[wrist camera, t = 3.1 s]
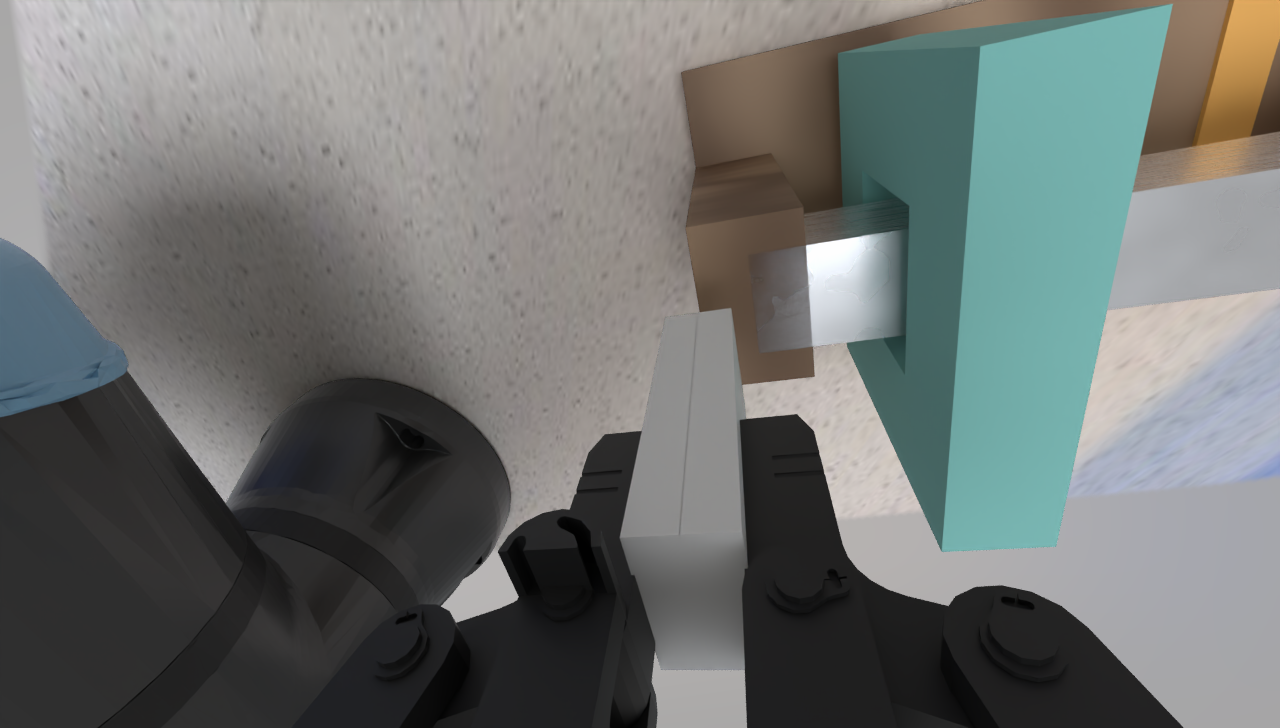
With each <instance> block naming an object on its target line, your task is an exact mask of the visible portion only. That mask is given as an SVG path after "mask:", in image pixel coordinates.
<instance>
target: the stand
mask: <svg viewBox="0 0 1280 728" xmlns="http://www.w3.org/2000/svg"><path fill="white" fill-rule="evenodd" d="M1228 3H1229V0H983V1H979V2H974V3H970V4H966V5H962V6H958V7H953V8H949V9H945V10H941V11H936V12H932V13H928V14H924V15H920V16H915V17H911V18H907V19H903V20H898V21H894V22H890V23H886V24H882V25H877V26H873V27H869V28H865V29H860V30H856V31H852V32H848V33H844V34H839V35H835V36H831V37H827V38H822V39H818V40H814V41H810V42H806V43H801V44H797V45H793V46H789V47H784V48H780V49H776V50H772V51H768V52H763V53H759V54H755V55H751V56H746V57H742V58H738V59H734V60H730V61H725V62H721V63H717V64H713V65H709V66H704V67H700V68H696V69H692V70H687V71H683V72H681V74H682V80H683V87H684V93H685V100H686V106H687V113H688V119H689V126H690V132H691V139H692V146H693V152H694V159H695V165H696V170H695V176H694V182H693V188H692V193H691V199H690V205H689V211H688V216H687V222H686V234H687V240H688V245H689V251H690V257H691V263H692V269H693V275H694V281H695V287H696V292H697V298H698V304H699V310H700V312H706V311H713V310H720V309H727V308H731V310H732V317H733V325H734V332H735V339H736V346H737V353H738V360H739V367H740V375H741V382H742V385H744V384H753V383H762V382H771V381H780V380H788V379H797V378H806V377H815V375H814V360H813V347H812V346H813V345H812V346H811V344H810V347H805V348H803V347H802V348H800V346H801V345H800V343H802V345H803V342H802V341H801V340H800V341H799V339H802V337H801V336H800V337H799V338H798V340H797V339H796V340H797V342H800V343H799V345H800V346H799V345H797V344H798V343H797V344H796V345H797V347H799V348H797V347H796V348H795V347H794V348H793V347H792V346H793V345H792V346H791V347H792V348H791V347H790V346H789V344H790V343H791V344H792V342H791V340H792V339H793V338H795V337H796V336H797V337H798V334H796V333H795V334H794V333H792V332H790V334H791V333H792V334H794V337H793V338H791V337H790V336H791V335H790V334H789V332H788V334H787V332H785V329H786V330H787V328H788V329H789V328H791V325H792V324H793V325H795V324H796V323H795V322H797V321H798V320H797V319H796V320H797V321H796V320H794V321H795V322H794V323H791V325H790V324H789V325H790V327H787V328H784V327H786V326H784V323H786V322H784V320H785V319H784V320H783V321H781V318H782V319H783V318H786V317H784V315H785V314H786V313H787V314H788V315H789V314H791V313H792V314H794V312H793V311H795V314H794V315H793V316H792V315H791V316H792V317H793V318H794V316H795V315H796V313H797V311H796V309H795V308H797V307H796V306H797V304H796V306H794V305H791V304H790V303H792V304H795V303H796V301H797V299H798V301H797V303H798V302H799V304H800V301H801V300H802V298H798V296H799V294H797V293H798V292H800V293H801V292H802V290H801V291H800V289H798V292H797V293H796V290H797V289H796V288H794V287H795V286H796V285H797V286H798V282H799V281H800V282H801V281H802V280H804V278H802V277H803V276H804V275H803V274H801V272H802V273H804V272H805V273H804V274H806V272H807V271H808V268H807V266H806V265H804V264H803V263H806V264H807V260H805V258H806V256H807V255H806V253H805V252H806V251H805V248H804V251H803V252H800V251H802V250H803V249H802V248H803V246H804V247H805V246H806V238H805V222H804V214H808V213H813V212H819V211H825V210H831V209H836V208H842V207H843V201H842V170H841V138H840V107H839V75H838V53H841V52H845V51H850V50H854V49H858V48H863V47H867V46H871V45H876V44H880V43H884V42H889V41H893V40H897V39H902V38H906V37H910V36H915V35H919V34H927V33H935V32H943V31H952V30H960V29H968V28H977V27H985V26H993V25H1001V24H1010V23H1018V22H1026V21H1034V20H1043V19H1051V18H1059V17H1068V16H1076V15H1084V14H1092V13H1101V12H1109V11H1117V10H1125V9H1134V8H1142V7H1150V6H1159V5H1167V4H1173V6H1172V10H1171V15H1170V20H1169V24H1168V29H1167V34H1166V38H1165V43H1164V48H1163V52H1162V57H1161V62H1160V66H1159V71H1158V75H1157V80H1156V85H1155V89H1154V94H1153V99H1152V103H1151V108H1150V113H1149V117H1148V122H1147V127H1146V131H1145V136H1144V140H1143V145H1142V150H1141V154H1140V156H1142V155H1147V154H1153V153H1159V152H1165V151H1170V150H1176V149H1182V148H1188V147H1192V144H1193V140H1194V136H1195V132H1196V128H1197V124H1198V120H1199V117H1200V113H1201V109H1202V105H1203V101H1204V97H1205V93H1206V89H1207V85H1208V81H1209V78H1210V74H1211V70H1212V66H1213V62H1214V58H1215V54H1216V50H1217V46H1218V42H1219V38H1220V35H1221V31H1222V27H1223V23H1224V19H1225V15H1226V11H1227V7H1228ZM1274 132H1280V39H1279V42H1278V46H1277V49H1276V52H1275V56H1274V59H1273V62H1272V66H1271V69H1270V72H1269V76H1268V79H1267V82H1266V86H1265V89H1264V92H1263V96H1262V99H1261V102H1260V106H1259V109H1258V112H1257V115H1256V119H1255V122H1254V125H1253V129H1252V132H1251V135H1250V137H1251V136H1257V135H1263V134H1268V133H1274ZM799 246H801V247H802V248H800V249H801V250H799V251H797V252H796V253H795V252H794V251H796V250H794V249H793V250H794V251H793V252H794V256H793V254H792V253H793V252H792V250H791V249H792V248H793V247H795V248H797V249H799ZM789 248H790V249H789ZM781 249H782V250H781ZM784 249H786V251H787V252H785V250H784ZM777 250H778V251H777ZM780 250H781V251H780ZM788 250H789V251H788ZM772 251H774V253H776V252H775V251H777V252H778V253H776V254H778V255H776V254H773V252H772ZM782 251H783V252H784V253H785V255H784V253H783V252H782ZM763 252H765V253H763ZM767 252H768V253H769V252H770V253H771V254H772V256H771V255H770V253H769V254H768V253H767ZM780 252H781V253H782V254H783V256H782V255H781V253H780ZM788 252H789V253H790V252H791V253H790V254H791V255H790V254H788ZM798 252H799V254H800V253H801V254H802V255H804V254H803V253H805V256H804V258H803V256H801V257H802V258H803V259H804V260H805V261H806V262H804V260H803V259H802V258H801V257H800V256H799V254H798ZM761 253H763V254H761ZM750 254H751V255H750ZM752 254H753V255H752ZM757 254H758V255H757ZM760 254H761V255H760ZM764 254H765V255H767V256H765V255H764ZM779 254H780V255H781V256H782V257H779ZM801 254H800V255H801ZM768 255H769V256H770V257H769V256H768ZM773 255H775V256H778V259H777V257H775V256H774V258H775V259H774V260H775V261H772V263H771V262H770V261H771V260H773ZM787 255H789V256H787ZM755 256H758V257H759V258H758V257H757V258H758V259H757V258H754V257H755ZM762 256H763V257H762ZM797 256H799V257H800V258H801V259H800V258H799V257H798V258H797V259H798V261H796V260H797V259H795V260H792V259H794V257H797ZM761 257H762V258H764V259H762V258H761ZM765 257H766V258H767V257H768V259H766V258H765ZM771 257H772V259H770V258H771ZM791 257H792V259H791ZM760 258H761V259H762V260H764V261H762V262H761V264H759V263H758V261H759V260H760V261H761V259H760ZM783 258H788V259H790V260H788V259H786V260H785V259H783ZM749 259H750V260H749ZM753 259H754V260H756V261H753ZM776 259H777V260H779V259H780V260H779V262H778V261H777V260H776ZM782 259H783V260H782ZM791 260H792V261H796V262H797V263H798V262H799V261H801V260H802V261H801V263H802V264H803V266H804V267H806V268H807V269H805V271H804V269H803V268H800V267H799V266H801V265H802V264H801V263H800V265H799V266H797V267H796V266H795V267H796V268H798V267H799V268H800V270H802V269H803V270H802V271H801V272H800V270H799V272H797V271H798V269H799V268H798V269H796V268H795V267H793V269H794V268H795V269H796V270H797V271H796V272H797V274H796V275H797V276H798V275H799V276H798V278H800V279H802V280H799V279H798V278H796V279H797V280H796V279H795V277H797V276H796V275H795V277H793V276H794V275H793V276H791V270H792V268H790V267H789V266H791V265H792V264H793V265H794V264H796V262H794V263H792V261H791ZM751 261H752V262H751ZM760 261H759V262H760ZM784 261H786V262H787V261H788V264H787V265H788V266H787V268H788V269H789V268H790V269H791V270H788V271H790V272H789V273H790V276H789V273H787V274H786V272H785V273H783V271H784V270H785V271H786V268H783V271H782V272H781V273H783V274H785V275H782V276H783V278H784V277H785V276H789V277H788V278H787V277H785V278H784V281H783V282H784V283H783V282H782V281H781V280H783V278H781V277H782V276H781V273H780V274H779V273H778V271H779V269H780V267H781V266H783V265H784V263H785V262H784ZM790 261H791V262H790ZM756 262H757V263H756ZM767 262H768V264H769V265H768V264H767ZM781 262H782V264H781ZM749 263H750V264H749ZM754 263H755V264H754ZM775 263H776V264H777V266H776V264H775ZM778 263H779V264H781V265H778ZM789 263H792V264H791V265H790V264H789ZM766 264H767V265H768V266H766ZM751 265H752V266H751ZM755 265H756V266H757V265H758V266H757V267H756V266H755ZM762 265H763V267H764V268H766V270H765V269H764V268H763V267H761V269H760V270H759V269H758V268H760V266H762ZM771 265H772V267H771ZM774 265H775V266H774ZM797 265H798V264H797ZM778 266H780V267H778ZM784 266H785V265H784ZM784 266H783V267H784ZM750 267H751V268H753V267H754V268H753V269H751V268H750ZM768 267H769V268H771V269H772V268H773V269H775V270H771V269H770V270H771V271H772V274H771V271H770V270H769V269H768ZM774 267H775V268H774ZM777 267H778V268H777ZM785 267H786V266H785ZM791 267H792V266H791ZM801 267H802V266H801ZM749 268H750V269H749ZM776 268H777V270H778V271H777V272H775V271H776ZM781 268H782V267H781ZM767 269H768V270H767ZM795 269H794V270H792V271H795ZM781 270H782V269H781ZM752 271H753V272H754V273H753V272H752ZM755 271H759V272H757V273H756V272H755ZM763 271H765V273H766V272H767V271H768V272H769V273H770V274H771V276H769V275H770V274H769V273H768V272H767V273H766V274H765V273H763ZM773 271H774V273H773ZM788 271H787V272H788ZM751 272H752V274H753V276H750V275H752V274H751ZM760 272H761V273H763V274H764V275H763V274H762V275H760V274H761V273H760ZM796 272H795V273H796ZM755 273H756V274H755ZM775 273H776V274H775ZM758 274H759V275H760V276H759V275H758ZM774 274H775V275H774ZM778 274H779V276H780V277H779V276H778V277H776V276H777V275H778ZM792 274H794V273H793V272H792ZM800 274H801V275H800ZM755 275H756V276H757V275H758V276H757V277H758V279H756V278H757V277H756V276H755ZM767 275H768V276H769V277H770V278H769V277H768V276H767ZM772 275H773V276H772ZM807 275H808V273H807ZM754 276H755V278H754V282H753V280H752V279H753V277H754ZM763 276H764V277H763ZM774 276H775V277H776V279H775V277H774ZM801 276H802V277H801ZM805 276H806V275H805ZM750 277H751V278H750ZM759 277H760V278H759ZM792 277H793V278H794V279H795V281H793V279H792ZM806 277H807V276H806ZM763 278H765V279H766V280H765V279H763ZM768 278H769V279H770V280H769V279H768ZM773 278H774V280H775V281H774V280H772V279H773ZM790 278H791V279H790ZM762 279H763V280H762ZM777 279H778V280H777ZM780 279H781V280H780ZM755 280H756V281H755ZM759 280H760V281H759ZM785 280H786V282H785ZM788 280H791V282H790V283H791V284H792V286H793V287H792V286H791V285H790V286H791V289H792V288H793V289H794V290H795V289H796V290H795V291H794V290H793V291H794V293H795V294H797V295H795V294H794V293H793V294H792V295H790V296H793V295H795V296H796V297H797V299H794V298H793V297H794V296H793V297H792V299H794V300H792V301H793V302H792V301H791V297H790V298H789V300H790V301H791V302H789V301H788V299H787V301H786V300H785V299H786V298H785V297H786V296H787V297H789V296H788V295H789V294H790V293H791V292H793V291H791V290H790V289H788V288H787V287H789V288H790V286H789V284H788V283H789V282H788ZM798 280H799V281H798ZM806 280H807V281H805V282H807V283H805V282H803V281H802V282H801V283H800V282H799V286H798V287H797V288H800V287H801V285H802V284H803V285H804V286H803V285H802V286H803V288H802V289H803V291H805V292H803V293H804V294H803V296H804V295H806V297H805V296H804V297H805V298H806V300H807V297H808V296H809V293H808V292H807V294H808V295H807V294H805V293H806V289H805V288H807V289H809V288H808V286H807V285H805V284H808V278H807V279H806ZM763 281H764V282H763ZM768 281H770V282H769V285H770V284H771V283H772V285H773V287H772V285H770V287H767V286H766V285H768ZM772 281H773V282H772ZM777 281H779V283H776V282H777ZM780 281H781V282H782V283H783V284H784V285H786V283H787V284H788V286H787V285H786V286H787V287H786V286H785V288H784V287H783V286H784V285H783V284H782V283H781V282H780ZM757 282H759V283H761V284H759V283H757ZM765 282H767V283H766V284H765ZM793 282H797V284H796V283H795V284H794V283H793ZM756 283H757V284H756ZM752 284H753V285H752ZM754 284H755V285H754ZM775 284H776V285H775ZM779 284H781V285H780V286H781V287H780V289H781V290H783V291H784V292H785V290H786V291H787V289H788V290H789V292H788V293H787V294H788V295H787V294H785V295H784V292H783V291H779V290H777V289H779V287H777V286H779ZM757 285H758V286H757ZM763 285H764V286H765V287H764V286H763ZM769 285H768V286H769ZM752 286H753V288H752ZM761 286H763V287H762V289H761ZM771 287H772V289H773V291H772V289H770V288H771ZM774 287H777V288H774ZM782 287H783V288H784V289H785V290H784V289H782ZM804 287H805V288H804ZM759 288H760V289H759ZM764 288H765V289H764ZM767 288H768V289H767ZM755 289H759V290H755ZM766 289H767V290H768V291H770V290H771V291H770V293H772V292H773V293H775V295H774V296H773V297H777V296H778V295H779V294H780V295H781V294H783V295H784V297H783V296H782V297H781V296H780V297H781V298H785V299H783V300H782V299H781V298H780V297H779V296H778V298H770V297H771V296H772V295H773V293H772V294H770V295H771V296H769V294H768V291H766ZM769 289H770V290H769ZM804 289H805V290H804ZM763 290H765V291H766V292H765V291H764V292H763ZM775 290H776V292H777V293H776V292H774V291H775ZM756 291H757V292H758V291H759V293H757V292H756ZM778 291H779V292H778ZM790 291H791V292H790ZM752 292H753V294H752ZM761 292H763V293H765V294H763V293H762V294H763V295H761ZM781 292H782V293H781ZM754 293H756V295H757V296H758V295H761V296H762V297H763V299H762V297H761V299H760V296H758V297H756V295H755V294H754ZM785 293H786V292H785ZM766 294H768V296H767V295H766ZM777 294H778V295H777ZM764 295H765V296H767V297H769V298H770V299H769V298H766V297H764ZM753 296H754V297H755V298H754V299H753ZM800 296H802V295H801V294H800ZM803 296H802V297H803ZM804 297H803V298H804ZM757 298H758V299H757ZM764 298H766V299H765V301H763V300H764ZM755 299H757V300H755ZM773 299H774V300H775V299H777V300H778V301H780V300H782V301H784V300H785V301H786V302H785V301H784V302H785V304H784V303H783V302H782V301H780V302H779V305H778V307H777V306H775V305H774V304H776V305H777V301H775V303H773V302H772V301H771V300H773ZM799 299H800V300H799ZM753 300H754V301H753ZM760 300H761V303H760ZM774 300H773V301H774ZM806 300H804V302H806ZM808 300H809V298H808ZM808 300H807V301H808ZM757 301H759V302H757ZM762 301H763V303H762ZM766 301H767V303H766ZM768 301H771V302H772V303H773V304H772V303H771V304H772V305H774V306H772V305H771V304H770V303H769V302H768ZM754 302H755V303H754ZM787 302H788V303H789V304H790V305H791V306H794V307H793V308H794V309H793V308H792V307H791V306H790V305H789V306H790V307H791V308H792V310H791V311H790V313H788V311H787V310H788V308H787V306H788V304H787ZM794 302H795V303H794ZM804 302H803V303H801V305H800V307H802V306H805V305H803V304H804ZM759 303H760V304H762V305H763V306H764V303H766V304H767V305H768V304H769V305H770V306H772V307H773V308H772V310H774V311H775V312H776V310H777V309H778V308H779V306H780V305H781V306H780V308H781V307H782V306H783V305H784V306H786V305H787V306H786V307H784V306H783V307H782V308H783V309H785V308H787V309H785V310H783V309H782V308H781V309H780V308H779V309H778V310H781V311H782V312H783V311H785V312H784V314H782V315H781V317H780V318H779V319H777V318H778V316H777V314H775V315H776V316H777V318H776V316H775V315H774V316H773V317H774V318H775V320H771V319H773V317H771V316H772V314H774V313H775V312H773V311H770V310H771V308H769V309H768V310H767V307H770V306H767V307H765V306H764V307H765V308H763V309H762V307H763V306H762V305H761V306H760V305H759ZM781 303H782V304H783V305H782V304H781ZM809 303H810V300H809ZM757 304H758V305H757ZM766 304H765V305H766ZM807 305H808V304H807ZM754 306H755V307H754ZM757 306H758V307H759V308H758V307H757ZM789 306H788V307H789ZM760 307H761V308H760ZM790 307H789V308H790ZM757 308H758V310H755V309H757ZM774 308H776V310H775V309H774ZM803 308H804V307H803ZM803 308H799V307H798V309H803ZM807 308H809V307H805V309H804V310H801V311H804V313H805V310H808V309H807ZM761 310H763V311H762V312H764V314H765V313H766V314H765V315H766V318H768V320H765V318H763V316H764V317H765V315H763V313H761V312H760V311H761ZM765 310H766V311H768V312H769V313H767V312H765ZM755 311H756V312H757V313H755ZM798 311H800V310H798ZM808 311H809V312H808ZM808 311H807V312H808V315H809V313H810V309H809V310H808ZM758 312H760V313H758ZM771 312H773V313H772V314H771V315H770V317H767V315H768V314H770V313H771ZM782 312H779V311H778V312H777V313H778V315H779V313H782ZM807 312H806V317H807ZM798 313H800V312H798ZM758 314H760V315H761V316H760V315H759V316H758V317H757V316H755V315H758ZM800 314H803V312H801V313H800ZM762 315H763V316H762ZM810 315H811V314H810ZM779 316H780V315H779ZM785 316H786V315H785ZM789 316H790V315H789ZM798 316H799V314H797V317H798ZM804 316H805V315H804ZM755 317H757V319H756V318H755ZM759 317H762V318H763V319H764V320H765V321H766V322H768V323H769V322H770V321H771V322H770V323H771V324H773V322H775V321H777V320H778V321H779V320H780V321H781V322H782V323H783V322H784V323H783V326H784V327H783V329H782V328H781V329H782V330H781V329H780V330H781V332H782V331H783V330H784V332H785V333H786V334H787V335H788V337H790V338H788V337H786V336H787V335H786V334H785V333H784V332H782V333H783V336H784V337H786V339H787V338H788V339H791V340H790V341H789V340H788V339H787V340H788V341H789V342H790V343H788V346H789V347H790V349H788V348H789V347H788V346H787V347H786V349H788V350H785V348H784V347H783V348H784V349H783V348H782V350H780V348H779V349H778V350H777V351H776V350H775V349H776V348H777V346H778V347H779V346H780V345H781V344H780V343H779V342H780V340H781V339H783V337H781V336H782V334H781V336H780V338H781V339H780V340H779V342H778V343H779V345H778V343H777V342H776V340H778V339H779V335H777V336H776V337H778V338H777V339H776V338H774V337H775V335H776V333H777V334H778V333H779V332H778V331H780V330H778V328H779V327H778V326H777V325H776V326H777V329H776V326H775V324H777V323H778V321H777V322H775V323H774V326H775V327H772V328H771V329H770V331H769V330H767V331H766V329H767V328H768V329H769V327H768V326H769V325H770V326H773V325H771V324H768V323H767V324H765V322H764V321H763V320H762V319H758V318H759ZM792 317H788V316H787V318H790V319H791V320H792V319H793V318H792ZM809 317H811V316H809ZM770 318H771V319H770ZM795 318H796V316H795ZM802 318H803V317H802ZM803 319H805V317H804V318H803ZM757 320H758V321H759V320H760V322H758V323H757V324H758V325H757V324H756V322H757ZM800 320H801V321H802V319H800ZM800 320H799V321H800ZM761 321H762V322H761ZM780 321H779V322H780ZM785 321H787V319H786V320H785ZM788 321H789V320H788ZM806 321H810V320H809V318H808V319H807V320H806ZM781 322H780V323H781ZM789 322H790V321H789ZM792 322H793V321H792ZM760 323H761V324H760ZM762 323H764V324H765V325H768V326H766V327H765V328H766V329H764V330H765V331H763V328H760V329H762V331H763V332H762V333H763V334H759V333H757V330H756V329H757V326H758V327H759V326H761V325H762ZM782 323H781V324H780V325H781V326H782ZM797 323H798V322H797ZM802 323H804V322H803V321H802ZM805 323H806V322H805ZM805 323H804V324H803V325H804V327H805ZM807 323H808V322H807ZM759 324H760V325H759ZM799 324H800V323H799ZM810 324H811V323H810ZM810 324H809V325H810ZM765 325H764V326H765ZM778 325H779V323H778ZM780 325H779V326H780ZM785 325H786V324H785ZM793 325H792V326H793ZM803 325H802V326H803ZM762 326H763V325H762ZM764 326H763V327H764ZM787 326H788V323H787ZM799 326H801V325H799ZM802 326H801V328H803V327H802ZM795 327H797V329H798V326H795ZM807 327H809V326H807ZM807 327H806V328H805V329H806V330H807V329H808V328H807ZM773 328H775V329H776V330H774V329H773ZM793 328H794V326H793ZM772 329H773V331H775V332H774V333H775V334H773V336H774V337H773V338H774V339H773V343H772V342H771V341H772V338H771V337H772V336H769V334H771V335H772V332H773V331H772ZM797 329H796V328H795V330H797ZM777 330H778V331H777ZM789 330H790V329H789ZM789 330H787V331H789ZM795 330H792V328H791V331H794V332H795ZM806 330H805V331H806ZM808 330H809V329H808ZM768 331H769V332H768ZM776 331H777V332H776ZM800 331H801V332H802V331H804V329H803V330H800ZM811 331H812V330H810V331H809V334H808V333H807V334H806V333H805V332H804V333H805V334H806V335H805V338H804V339H806V336H807V335H810V334H811V333H810V332H811ZM758 332H760V333H761V330H760V331H758ZM766 332H768V334H767V333H766ZM781 332H780V333H781ZM806 332H807V331H806ZM764 333H765V335H766V336H767V335H768V336H769V337H770V338H769V337H765V336H764ZM780 333H779V334H780ZM797 333H798V330H797ZM758 334H759V335H760V337H759V339H758V338H757V336H758ZM789 335H790V336H789ZM799 335H803V334H802V333H801V334H800V332H799ZM761 336H762V337H761ZM811 336H812V335H811ZM763 337H764V339H762V338H763ZM808 337H809V336H808ZM808 337H807V338H808ZM765 338H766V339H767V338H769V340H766V339H765ZM760 339H762V340H761V341H764V342H765V341H766V342H767V343H768V344H769V341H770V346H768V345H766V344H767V343H766V342H765V343H764V342H761V341H759V340H760ZM775 339H776V340H775ZM784 339H785V338H784ZM784 339H783V340H784ZM804 339H803V340H804ZM810 339H811V337H810ZM810 339H809V338H808V339H807V340H808V341H806V343H807V342H809V340H810ZM774 340H775V341H774ZM787 340H786V341H787ZM811 340H812V339H811ZM758 341H759V342H761V343H760V344H759V343H758ZM784 341H785V340H784ZM784 341H783V343H787V342H788V341H787V342H786V341H785V342H784ZM775 342H776V343H777V344H776V343H775ZM794 342H796V341H794ZM771 343H772V345H773V346H774V343H775V344H776V345H777V346H775V348H774V349H773V347H772V345H771ZM781 343H782V342H781ZM783 343H782V345H783V346H785V345H784V344H783ZM804 343H805V342H804ZM806 343H805V344H806ZM761 344H762V345H763V344H765V345H764V346H762V345H761ZM794 344H795V343H794ZM759 345H761V346H762V348H763V349H759V347H760V346H759ZM782 345H781V346H780V347H782ZM796 345H795V346H796ZM806 345H807V344H806ZM808 345H809V343H808ZM803 346H804V345H803ZM766 347H768V348H769V347H770V348H772V349H773V350H774V351H773V350H771V349H767V348H766ZM760 348H761V347H760ZM765 349H766V350H767V351H768V350H771V352H767V351H765ZM779 350H780V351H779ZM760 351H761V352H760ZM763 351H764V352H763ZM759 352H760V353H759ZM762 352H763V353H762Z"/></svg>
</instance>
